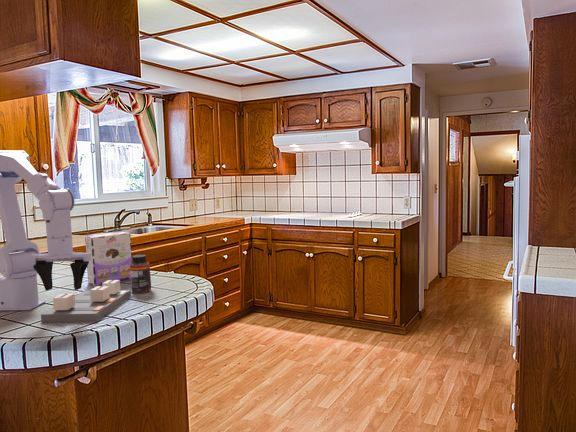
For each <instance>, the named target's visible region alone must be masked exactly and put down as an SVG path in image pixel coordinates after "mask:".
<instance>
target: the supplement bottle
mask: <svg viewBox="0 0 576 432" xmlns="http://www.w3.org/2000/svg"><path fill="white" fill-rule="evenodd" d="M130 277H131V279H130V286H131V287H130V290H131V293H133V294H146V293H148V292H151V290H152V279H151V278H152V277H151V266H150V262H148V260H147V255H146V254H136V255H132V263H131V264H130Z"/></svg>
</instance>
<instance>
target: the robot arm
mask: <svg viewBox="0 0 576 432" xmlns="http://www.w3.org/2000/svg"><path fill="white" fill-rule="evenodd" d="M22 180H24V181H25V182H26V188H27V190H28V191H29V192H30V193H31V194H32V195H33V196H34V197H35V198H36V199H37V200H38V205H39V209H40V210H41V213H42V218H43V220H45V230H46V231H45V232H46V243H47V253H41V252H40V250H39V247H38V244H37V243H35V242H33V241H31V240H30V239H27V234H26V230H25V226H24V222H23V217H22V213H21V208H20V206H19V199H18V197H17V193H16V189H15V186H16V184H17V183H19V182H21V181H22ZM74 207H75V197H74V193H73V192H72V191H71V189H70V188H63V187H60V186H59V185H58V184H57V183H56V182H55V181H53V180H52V179H51V178H50V177H49V175H48V174H47V173H40V172H38V171H37V170H36V168H35V167H34V166H33V165H32V164H31V158H30V155H29V154H28V153H27V152H26V151H25V150H23V149H20V150H13V149H12V150H9V149H7V150H5V149H4V150H2V149H0V222H1V226H2V231H3V234H4V238H5V244H4V245H2V246H1V248H0V274H1V275H2V276H1V277H0V311H2V312H3V311H31V310H33V309H34V308H36V307H38V306H40V305H43V304H45V303H46V300H39V299H40V298H39V289H38V287H39V285H38V275H39V277H40V280H41V282H42V284H43V288H44V290H45V292H46V291H50V290H52V289H53V266H54V263H55V262H71V263H69V265H70V268H71V272H72V275H73V276H72V277H73V287H74V290H75V291H77V290H81V289H82V285H83V280H84V275H85V273H86V271H87V266H88V264H89V260H91V253H86V252H80V251H79V252H78V251H77V252H76V251H74V249H73V247H74V246H73V234H72V231H73V229H72V218H71V212H72V210H73V209H74Z"/></svg>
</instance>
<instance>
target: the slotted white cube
mask: <svg viewBox="0 0 576 432" xmlns="http://www.w3.org/2000/svg"><path fill="white" fill-rule="evenodd" d="M75 296H76V295H75V293H60V294H58V295H56V296H55V297H52V303H53V304H52V307H53V308H54V310H69V309H70V308H72V307H74V306H75Z"/></svg>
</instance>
